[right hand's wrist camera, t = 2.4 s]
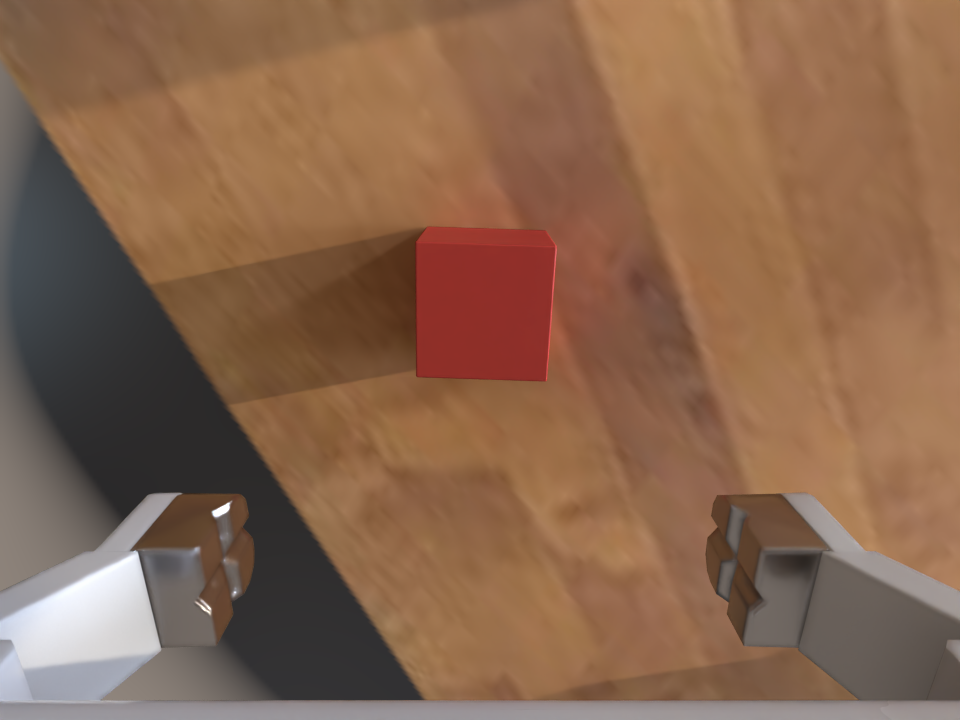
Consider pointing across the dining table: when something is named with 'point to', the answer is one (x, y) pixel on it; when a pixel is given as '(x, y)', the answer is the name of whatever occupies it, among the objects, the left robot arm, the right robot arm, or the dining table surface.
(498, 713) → the right robot arm
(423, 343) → the brick
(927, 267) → the dining table surface
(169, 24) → the dining table surface
